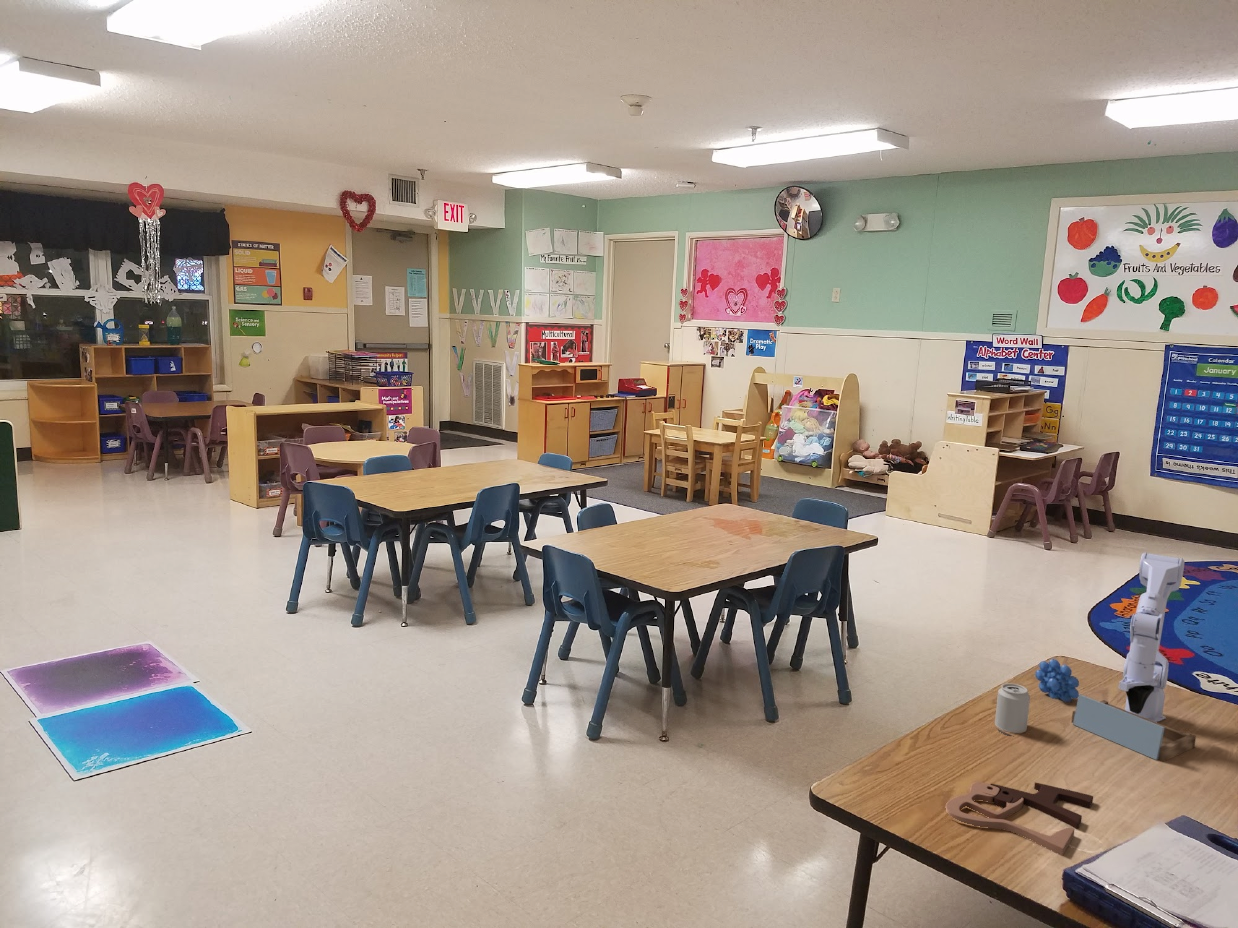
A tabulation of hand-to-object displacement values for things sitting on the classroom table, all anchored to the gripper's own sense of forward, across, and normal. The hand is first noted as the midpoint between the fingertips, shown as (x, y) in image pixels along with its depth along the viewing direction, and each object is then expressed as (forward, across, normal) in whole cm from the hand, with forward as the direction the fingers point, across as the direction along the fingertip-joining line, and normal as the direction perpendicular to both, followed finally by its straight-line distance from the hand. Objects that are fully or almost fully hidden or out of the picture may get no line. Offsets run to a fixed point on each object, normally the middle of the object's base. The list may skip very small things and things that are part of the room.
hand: (1135, 711), depth 226 cm
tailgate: (+6, -8, 0) cm, 10 cm away
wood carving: (+9, -54, -6) cm, 55 cm away
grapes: (+8, +3, +23) cm, 24 cm away
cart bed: (+8, 0, 0) cm, 8 cm away
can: (+8, -23, +18) cm, 31 cm away
